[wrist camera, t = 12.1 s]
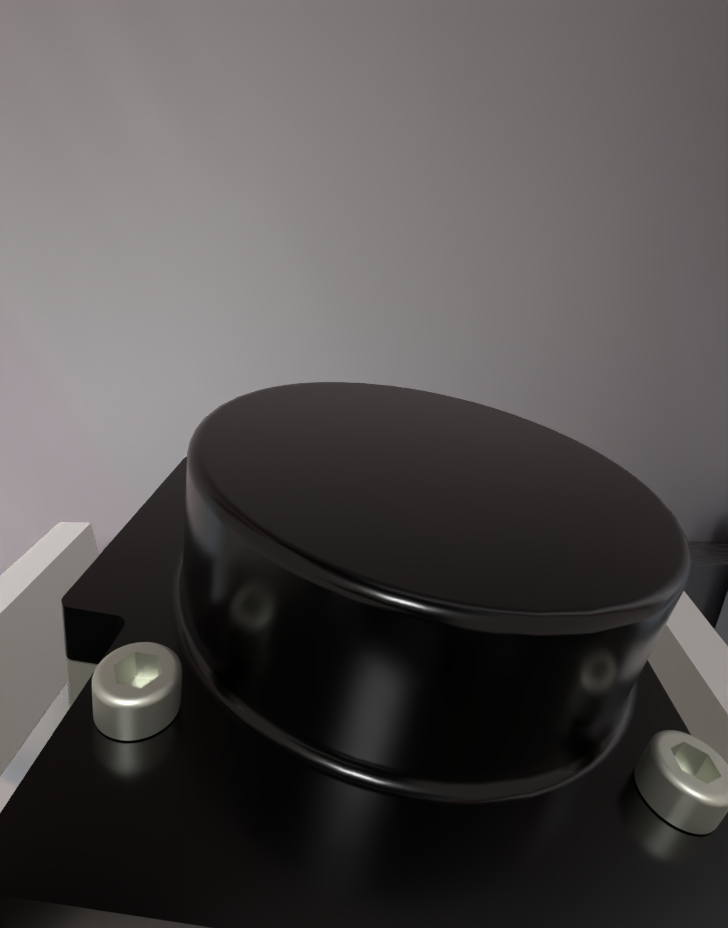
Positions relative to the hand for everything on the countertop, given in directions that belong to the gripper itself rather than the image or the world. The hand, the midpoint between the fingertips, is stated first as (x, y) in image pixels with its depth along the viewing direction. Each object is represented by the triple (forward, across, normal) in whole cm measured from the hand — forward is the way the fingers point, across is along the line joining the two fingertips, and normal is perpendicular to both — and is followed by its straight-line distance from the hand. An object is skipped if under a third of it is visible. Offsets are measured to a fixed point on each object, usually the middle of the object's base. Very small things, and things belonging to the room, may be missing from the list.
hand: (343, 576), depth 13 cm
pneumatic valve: (+2, 0, 0) cm, 2 cm away
